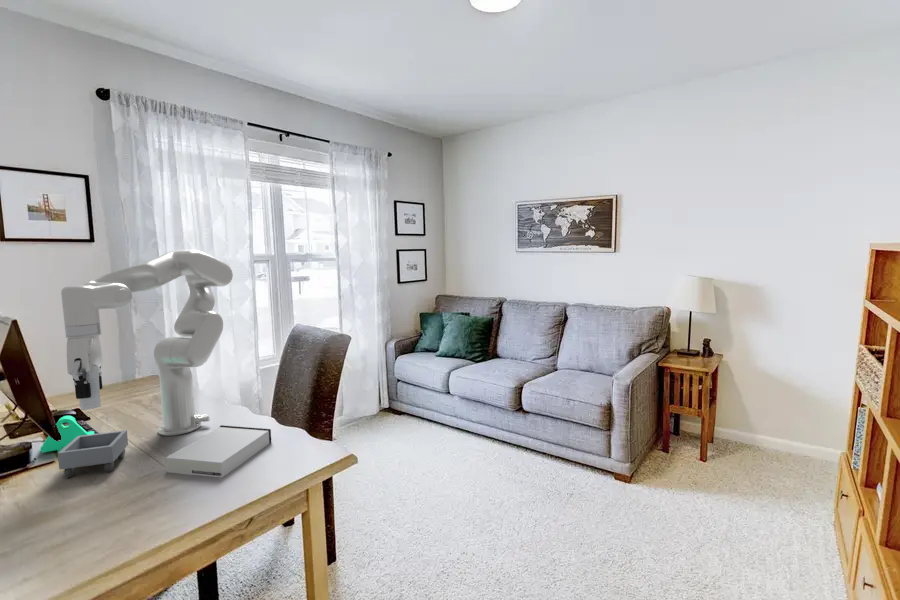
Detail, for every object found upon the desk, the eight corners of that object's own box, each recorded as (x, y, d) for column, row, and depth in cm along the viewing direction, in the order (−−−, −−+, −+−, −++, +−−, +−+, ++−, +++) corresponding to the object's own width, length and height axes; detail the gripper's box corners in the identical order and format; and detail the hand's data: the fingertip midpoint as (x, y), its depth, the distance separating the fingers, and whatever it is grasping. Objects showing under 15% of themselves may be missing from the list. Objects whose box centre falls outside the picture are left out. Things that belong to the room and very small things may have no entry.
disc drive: (271, 443, 142) (270, 428, 141) (223, 479, 120) (221, 461, 119) (222, 440, 145) (221, 425, 145) (166, 473, 123) (164, 456, 123)
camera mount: (95, 438, 147) (92, 407, 146) (92, 446, 141) (89, 414, 139) (46, 447, 140) (43, 415, 139) (41, 456, 134) (37, 423, 133)
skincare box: (79, 405, 126) (74, 363, 124) (99, 402, 129) (95, 360, 127) (81, 411, 121) (77, 367, 120) (102, 407, 124) (98, 364, 123)
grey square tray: (129, 454, 134) (126, 430, 134) (114, 472, 123) (111, 446, 122) (80, 460, 130) (77, 435, 130) (60, 480, 119) (57, 453, 118)
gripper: (80, 326, 130) (86, 386, 132) (50, 337, 113) (58, 405, 115) (111, 324, 132) (117, 383, 134) (86, 335, 116) (93, 401, 118)
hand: (89, 393), depth 125 cm, fingers closed on skincare box, 7 cm apart
